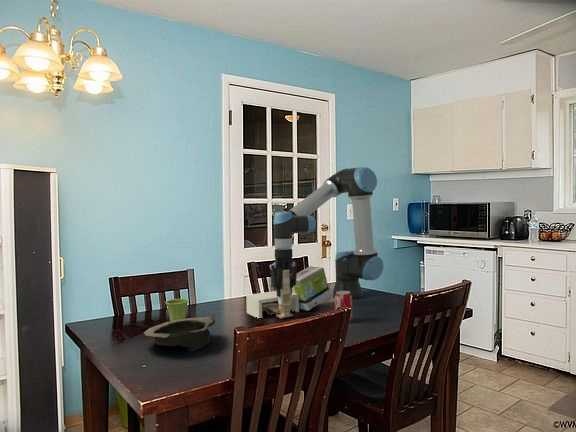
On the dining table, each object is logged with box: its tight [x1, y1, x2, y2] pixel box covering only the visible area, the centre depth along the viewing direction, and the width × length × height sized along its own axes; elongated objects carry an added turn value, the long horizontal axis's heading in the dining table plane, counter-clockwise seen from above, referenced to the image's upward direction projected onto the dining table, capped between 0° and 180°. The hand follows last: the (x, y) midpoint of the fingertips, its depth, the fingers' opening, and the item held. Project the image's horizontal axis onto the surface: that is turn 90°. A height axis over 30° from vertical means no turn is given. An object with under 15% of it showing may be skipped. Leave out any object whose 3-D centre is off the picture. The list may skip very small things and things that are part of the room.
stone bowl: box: [143, 315, 216, 353], centre depth 155 cm, size 25×25×9 cm
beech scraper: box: [262, 270, 294, 319], centre depth 193 cm, size 16×6×20 cm, turn 31°
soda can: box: [334, 291, 353, 322], centre depth 181 cm, size 7×7×12 cm
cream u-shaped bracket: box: [245, 290, 300, 319], centre depth 197 cm, size 20×12×8 cm, turn 121°
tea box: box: [292, 266, 332, 311], centre depth 202 cm, size 15×10×15 cm, turn 130°
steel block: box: [265, 310, 279, 316], centre depth 196 cm, size 6×6×1 cm
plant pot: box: [165, 298, 189, 322], centre depth 185 cm, size 9×9×9 cm
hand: (284, 303), depth 188 cm, fingers closed on beech scraper, 3 cm apart
